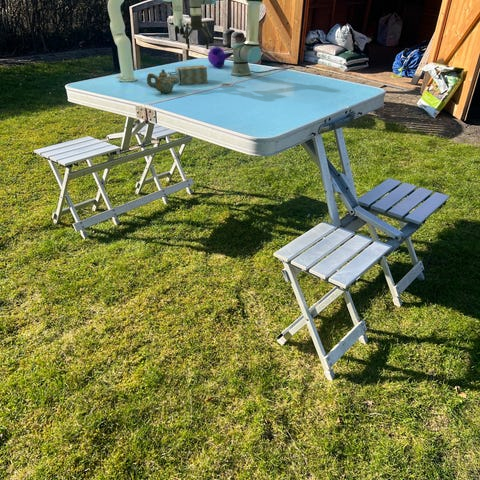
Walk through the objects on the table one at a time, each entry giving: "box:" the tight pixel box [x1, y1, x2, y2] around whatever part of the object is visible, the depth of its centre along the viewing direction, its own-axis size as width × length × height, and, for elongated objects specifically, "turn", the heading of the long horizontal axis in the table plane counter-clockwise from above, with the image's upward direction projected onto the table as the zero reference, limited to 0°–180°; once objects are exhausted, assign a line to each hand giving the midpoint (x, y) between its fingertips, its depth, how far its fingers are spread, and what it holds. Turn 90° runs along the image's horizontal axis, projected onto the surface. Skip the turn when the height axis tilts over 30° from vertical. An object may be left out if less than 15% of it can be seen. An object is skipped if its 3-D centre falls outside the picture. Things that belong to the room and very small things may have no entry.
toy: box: [207, 46, 233, 69], centre depth 382 cm, size 16×18×27 cm
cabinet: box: [176, 64, 208, 86], centre depth 328 cm, size 19×10×11 cm, turn 109°
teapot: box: [146, 68, 179, 94], centre depth 299 cm, size 21×12×15 cm, turn 109°
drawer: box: [167, 68, 181, 85], centre depth 326 cm, size 24×9×9 cm, turn 109°
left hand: (179, 33), depth 342 cm, fingers open, 9 cm apart
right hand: (198, 49), depth 312 cm, fingers open, 13 cm apart
